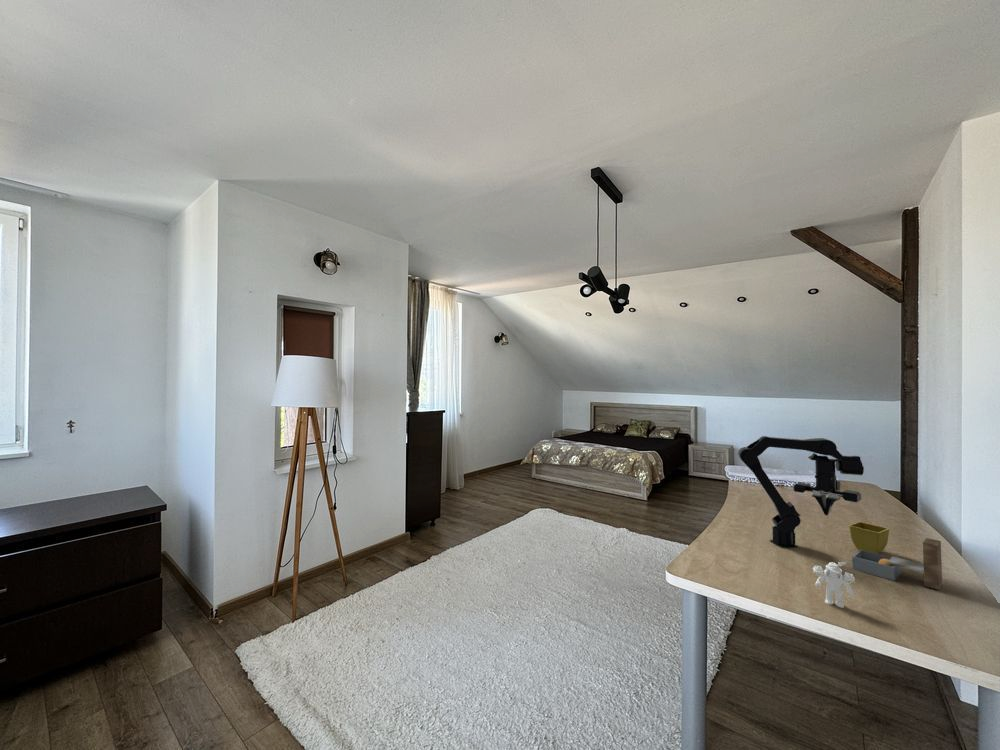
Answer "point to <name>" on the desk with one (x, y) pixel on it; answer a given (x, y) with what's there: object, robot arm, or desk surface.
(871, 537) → the flower pot
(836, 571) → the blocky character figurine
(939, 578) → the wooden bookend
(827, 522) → the desk surface
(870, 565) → the shallow blue-grey tray
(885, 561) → the ball
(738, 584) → the desk surface
